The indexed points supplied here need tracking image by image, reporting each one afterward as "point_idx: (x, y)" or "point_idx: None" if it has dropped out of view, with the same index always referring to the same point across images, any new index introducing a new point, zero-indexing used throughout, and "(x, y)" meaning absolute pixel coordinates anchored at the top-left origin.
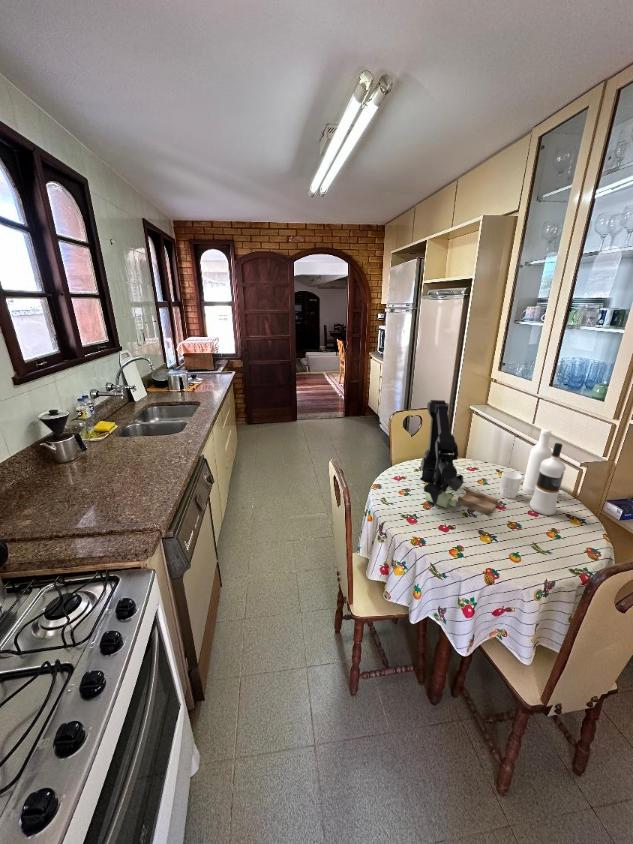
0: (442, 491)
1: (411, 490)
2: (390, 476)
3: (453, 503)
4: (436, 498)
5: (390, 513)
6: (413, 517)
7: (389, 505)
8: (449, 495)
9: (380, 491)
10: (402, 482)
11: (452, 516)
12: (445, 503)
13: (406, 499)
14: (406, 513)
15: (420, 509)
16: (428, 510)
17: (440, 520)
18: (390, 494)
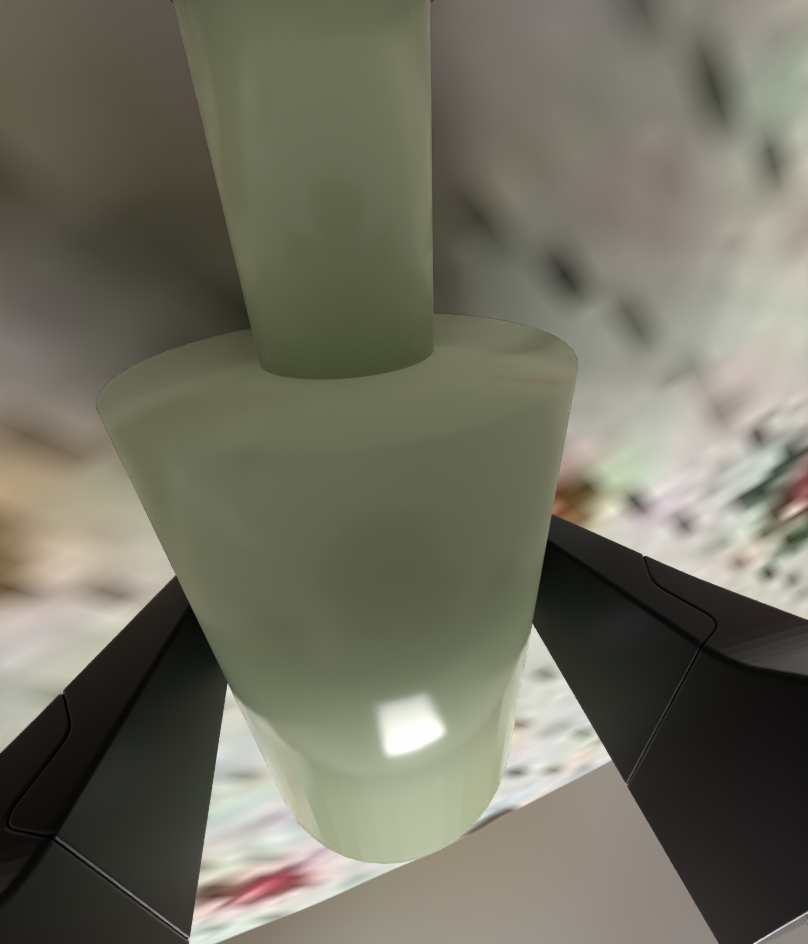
0: (331, 710)
1: None
2: (296, 900)
3: (427, 122)
4: (642, 564)
5: (789, 600)
6: (801, 473)
7: None
8: (435, 437)
9: (541, 787)
10: (291, 848)
11: (571, 44)
12: (549, 345)
13: (529, 682)
14: (752, 546)
15: (629, 525)
16: (604, 464)
17: (785, 192)
18: (536, 754)
